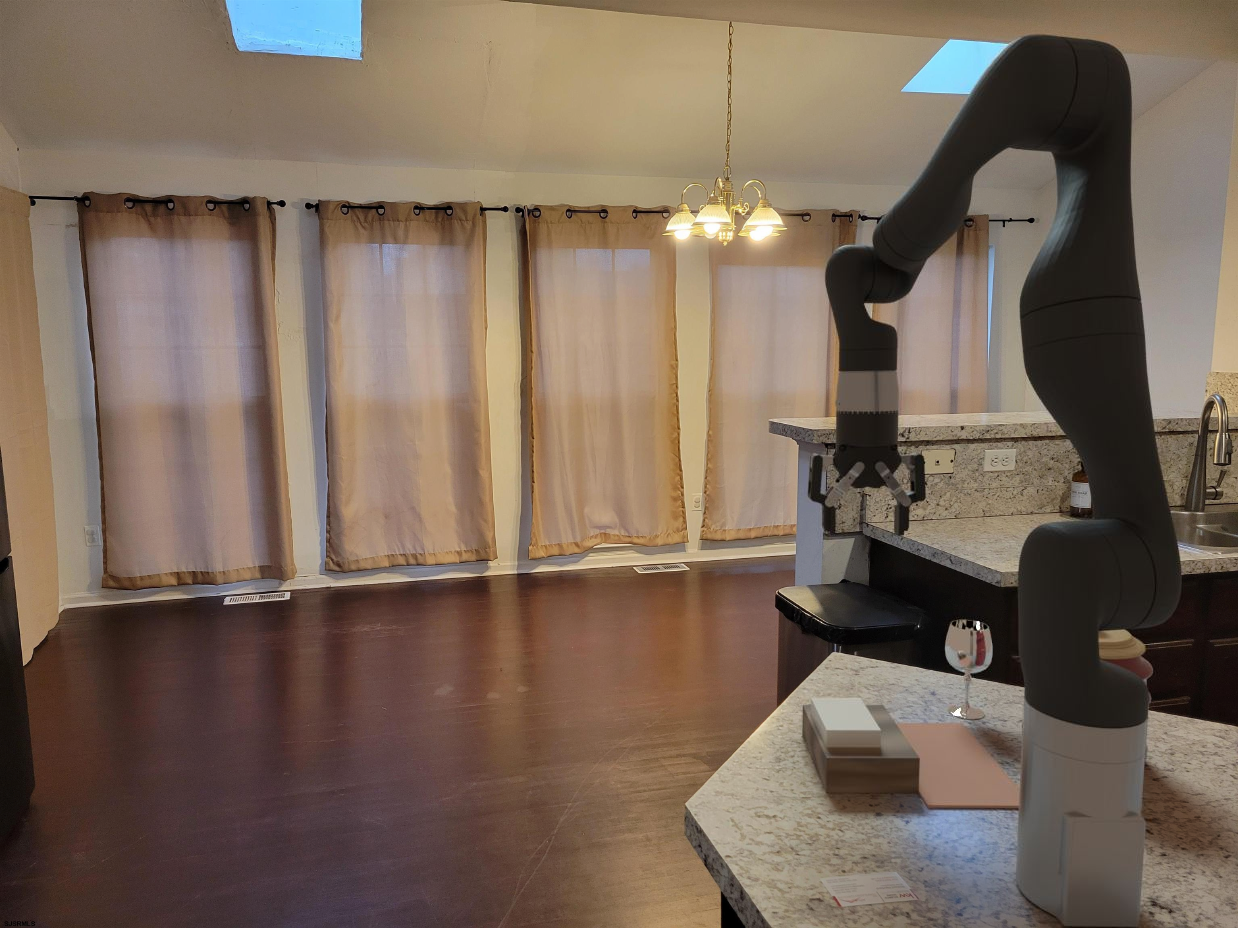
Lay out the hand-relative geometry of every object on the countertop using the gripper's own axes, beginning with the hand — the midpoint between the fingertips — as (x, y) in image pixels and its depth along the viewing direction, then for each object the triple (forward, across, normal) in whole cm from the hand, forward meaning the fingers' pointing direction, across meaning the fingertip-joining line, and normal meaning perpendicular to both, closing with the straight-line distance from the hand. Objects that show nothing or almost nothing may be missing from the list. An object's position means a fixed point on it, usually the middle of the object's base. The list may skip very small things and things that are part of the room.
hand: (865, 534), depth 106 cm
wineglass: (+25, +14, +3) cm, 29 cm away
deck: (+25, -3, -11) cm, 28 cm away
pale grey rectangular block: (+21, -5, -12) cm, 24 cm away
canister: (+25, +24, -9) cm, 36 cm away
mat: (+25, +7, -11) cm, 28 cm away
